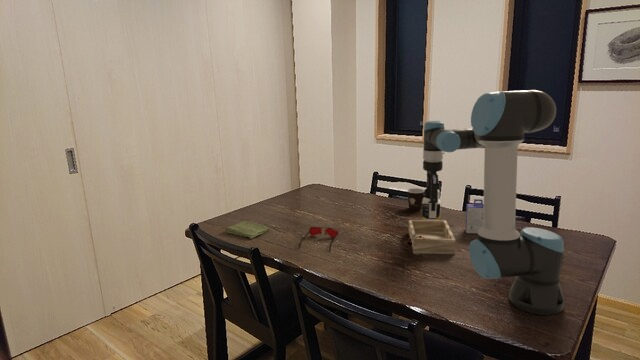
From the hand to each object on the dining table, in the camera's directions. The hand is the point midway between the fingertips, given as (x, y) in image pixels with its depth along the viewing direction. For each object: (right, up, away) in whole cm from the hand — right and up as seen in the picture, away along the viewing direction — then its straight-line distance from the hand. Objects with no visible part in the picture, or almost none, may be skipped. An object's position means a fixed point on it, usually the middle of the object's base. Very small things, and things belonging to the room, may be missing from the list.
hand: (431, 214), depth 175 cm
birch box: (+1, -12, +3) cm, 13 cm away
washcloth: (-79, -11, +23) cm, 83 cm away
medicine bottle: (0, -1, 0) cm, 1 cm away
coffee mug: (+4, -2, +44) cm, 44 cm away
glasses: (-46, -14, +7) cm, 49 cm away
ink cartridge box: (+24, -9, +13) cm, 29 cm away
